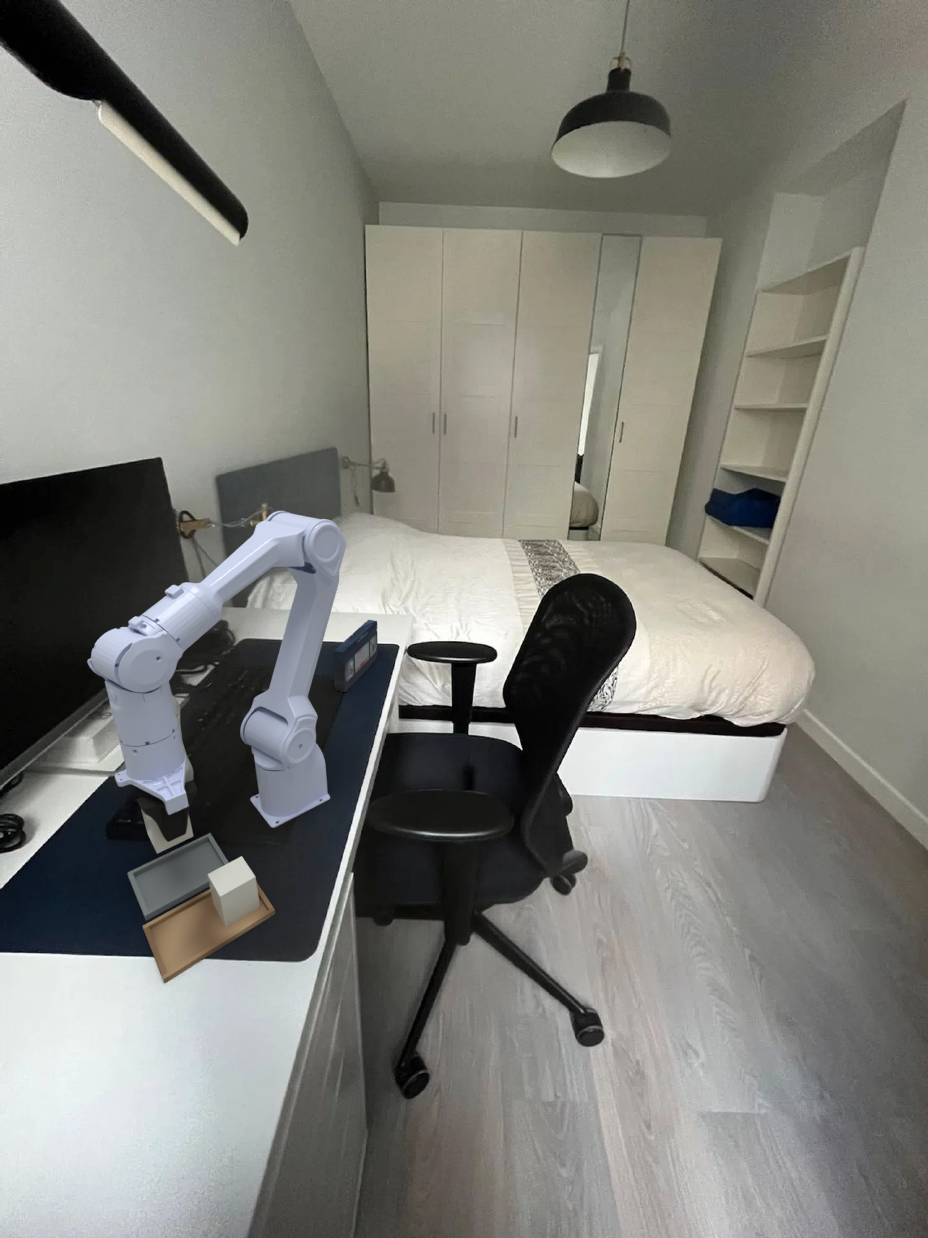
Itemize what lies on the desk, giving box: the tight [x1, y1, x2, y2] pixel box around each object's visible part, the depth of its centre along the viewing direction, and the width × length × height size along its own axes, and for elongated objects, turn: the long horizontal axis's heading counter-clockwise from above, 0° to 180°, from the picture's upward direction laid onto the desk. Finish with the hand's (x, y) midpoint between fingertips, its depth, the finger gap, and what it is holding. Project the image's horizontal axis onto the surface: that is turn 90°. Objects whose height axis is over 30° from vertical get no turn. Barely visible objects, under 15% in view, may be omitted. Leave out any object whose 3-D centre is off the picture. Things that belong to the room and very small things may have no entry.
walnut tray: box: [142, 881, 276, 984], centre depth 60 cm, size 12×8×1 cm, turn 134°
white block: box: [140, 808, 194, 854], centre depth 62 cm, size 4×4×5 cm
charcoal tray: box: [127, 832, 230, 922], centre depth 65 cm, size 10×8×1 cm
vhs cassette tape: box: [332, 619, 379, 693], centre depth 116 cm, size 18×3×10 cm, turn 165°
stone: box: [208, 856, 260, 928], centre depth 61 cm, size 4×4×5 cm
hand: (170, 825), depth 62 cm, fingers closed on white block, 4 cm apart
